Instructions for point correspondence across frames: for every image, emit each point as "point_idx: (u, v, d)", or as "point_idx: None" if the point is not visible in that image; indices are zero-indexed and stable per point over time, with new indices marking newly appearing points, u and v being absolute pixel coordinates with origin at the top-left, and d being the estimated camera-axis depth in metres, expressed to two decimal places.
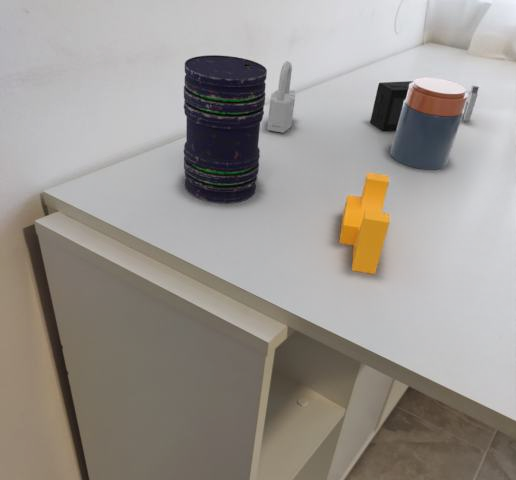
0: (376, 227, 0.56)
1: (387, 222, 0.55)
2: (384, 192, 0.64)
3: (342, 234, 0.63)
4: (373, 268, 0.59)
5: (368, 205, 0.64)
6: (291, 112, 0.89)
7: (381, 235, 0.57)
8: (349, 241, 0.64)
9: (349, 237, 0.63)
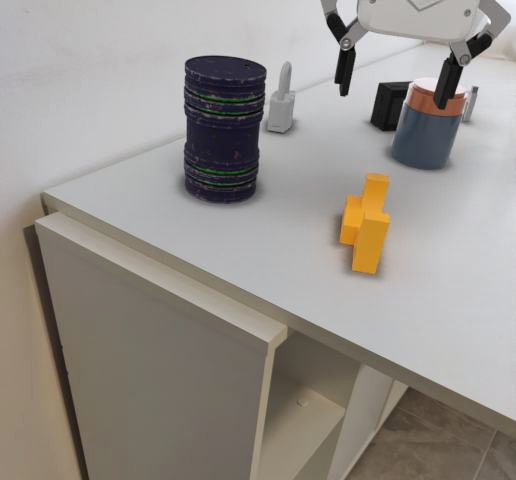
0: (376, 228, 0.56)
1: (387, 222, 0.55)
2: (384, 192, 0.64)
3: (342, 234, 0.63)
4: (373, 268, 0.59)
5: (368, 205, 0.64)
6: (291, 112, 0.89)
7: (381, 236, 0.57)
8: (349, 241, 0.64)
9: (349, 237, 0.63)
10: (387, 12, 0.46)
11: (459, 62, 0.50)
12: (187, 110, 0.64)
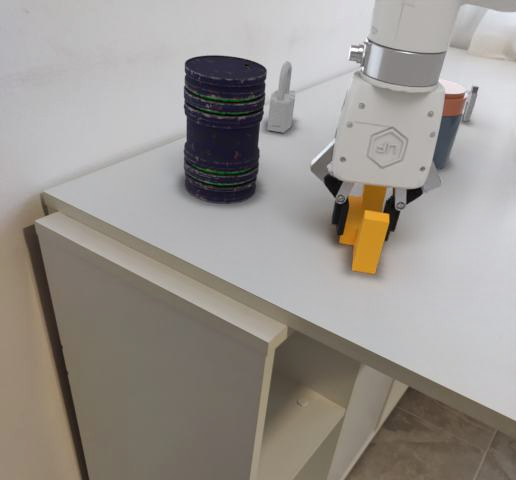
0: (376, 227, 0.56)
1: (387, 222, 0.55)
2: (384, 192, 0.64)
3: None
4: (373, 268, 0.59)
5: (368, 205, 0.64)
6: (291, 112, 0.89)
7: (381, 235, 0.57)
8: (349, 241, 0.64)
9: (349, 237, 0.63)
10: (355, 168, 0.55)
11: (396, 207, 0.60)
12: (187, 110, 0.64)
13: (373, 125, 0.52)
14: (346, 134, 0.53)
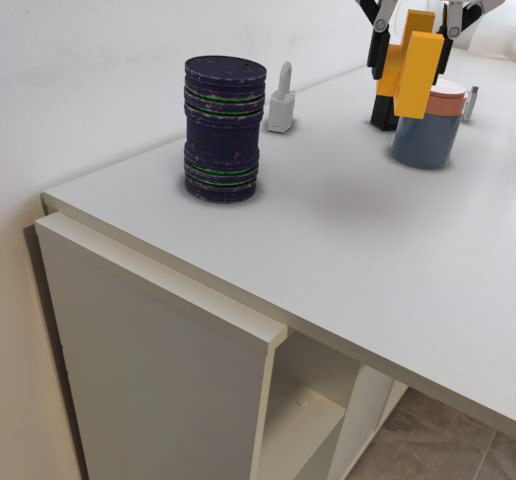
0: (427, 48, 0.45)
1: (441, 39, 0.44)
2: (430, 30, 0.53)
3: (380, 81, 0.52)
4: (421, 110, 0.48)
5: None
6: (291, 112, 0.89)
7: (433, 60, 0.46)
8: (388, 91, 0.53)
9: (388, 85, 0.52)
10: None
11: (448, 35, 0.48)
12: (187, 110, 0.64)
13: None
14: None
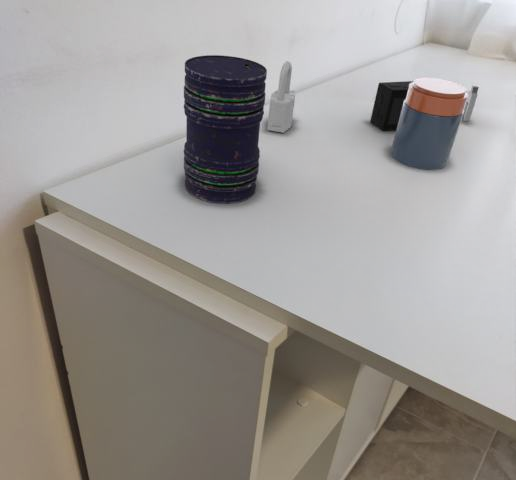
0: None
1: None
2: None
3: None
4: None
5: None
6: (291, 112, 0.89)
7: None
8: None
9: None
10: None
11: None
12: (187, 110, 0.64)
13: None
14: None
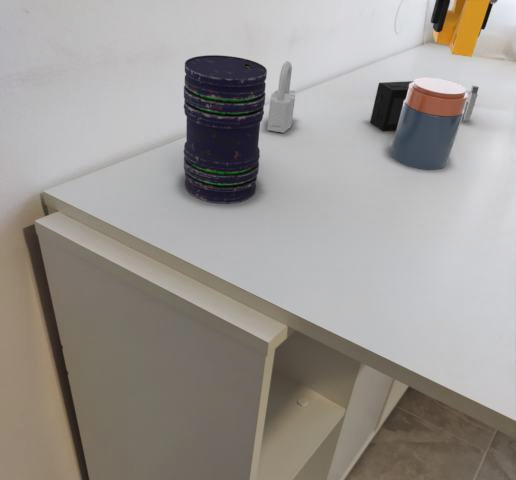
0: (478, 6, 0.68)
1: (488, 0, 0.67)
2: None
3: (439, 33, 0.75)
4: (471, 50, 0.71)
5: (460, 11, 0.76)
6: (291, 112, 0.89)
7: (481, 15, 0.68)
8: (444, 40, 0.75)
9: (445, 36, 0.75)
10: None
11: (490, 1, 0.71)
12: (187, 110, 0.64)
13: None
14: None
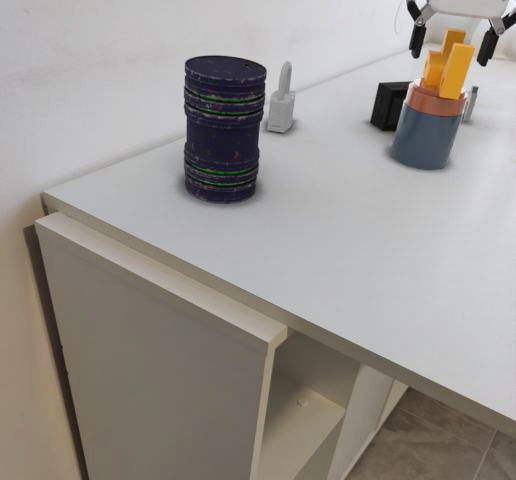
0: (464, 54, 0.71)
1: (473, 48, 0.71)
2: (462, 42, 0.79)
3: (428, 75, 0.79)
4: (457, 94, 0.75)
5: (448, 53, 0.79)
6: (291, 112, 0.89)
7: (467, 61, 0.72)
8: (433, 82, 0.79)
9: (434, 78, 0.79)
10: None
11: (496, 33, 0.74)
12: (187, 110, 0.64)
13: None
14: None
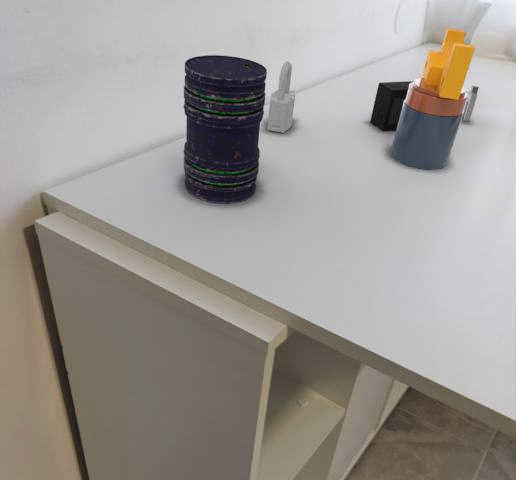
0: (464, 54, 0.71)
1: (473, 48, 0.71)
2: (462, 42, 0.79)
3: (428, 75, 0.79)
4: (457, 94, 0.75)
5: (448, 53, 0.79)
6: (291, 112, 0.89)
7: (467, 61, 0.72)
8: (433, 82, 0.79)
9: (434, 78, 0.79)
10: None
11: None
12: (187, 110, 0.64)
13: None
14: None
